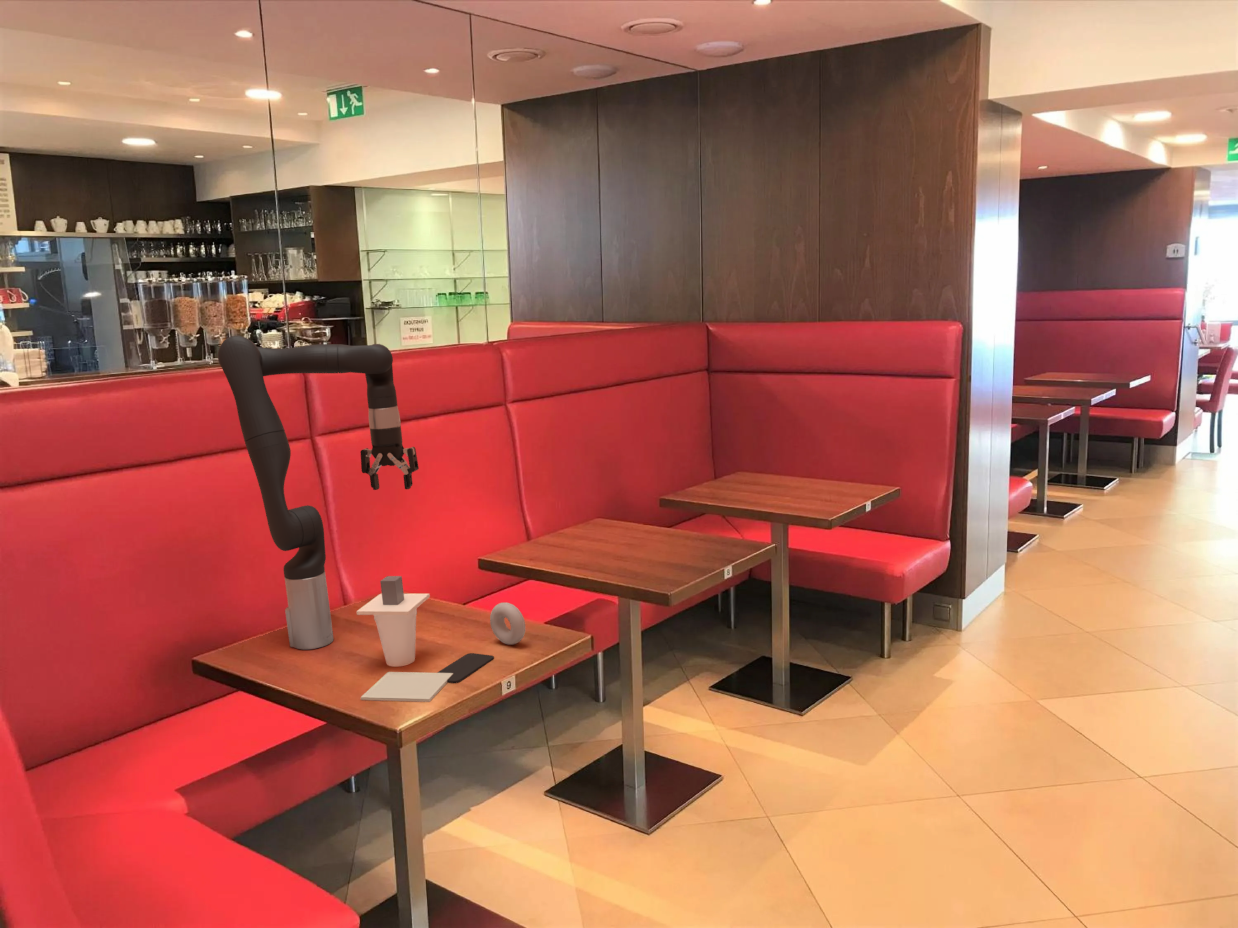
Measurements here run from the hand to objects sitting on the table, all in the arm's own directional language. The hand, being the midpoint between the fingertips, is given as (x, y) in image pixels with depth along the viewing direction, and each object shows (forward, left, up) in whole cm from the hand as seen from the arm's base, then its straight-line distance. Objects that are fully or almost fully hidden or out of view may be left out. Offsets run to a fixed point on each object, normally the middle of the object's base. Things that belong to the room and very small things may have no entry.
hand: (392, 489), depth 243 cm
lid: (+12, -30, -20) cm, 38 cm away
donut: (+34, -19, -33) cm, 51 cm away
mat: (+20, -44, -33) cm, 59 cm away
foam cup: (+12, -30, -33) cm, 46 cm away
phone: (+28, -33, -34) cm, 55 cm away
